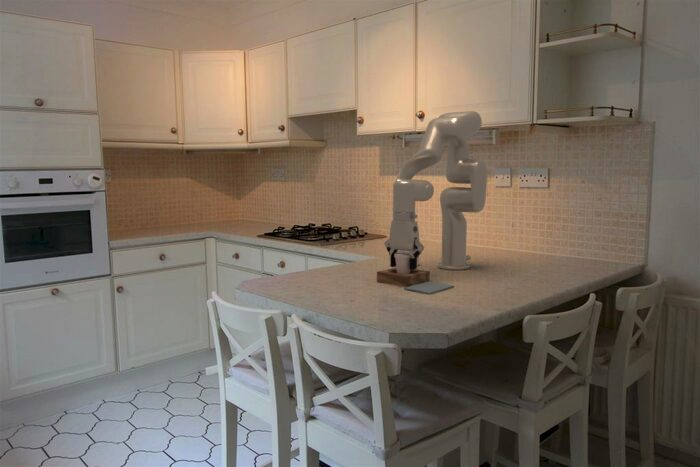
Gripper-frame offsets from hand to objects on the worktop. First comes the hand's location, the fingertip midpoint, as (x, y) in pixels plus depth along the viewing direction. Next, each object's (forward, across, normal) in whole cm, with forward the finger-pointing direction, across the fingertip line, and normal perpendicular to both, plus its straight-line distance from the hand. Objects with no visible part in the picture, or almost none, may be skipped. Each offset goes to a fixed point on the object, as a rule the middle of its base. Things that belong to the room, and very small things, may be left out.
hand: (403, 267), depth 186 cm
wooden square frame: (+5, 0, 0) cm, 5 cm away
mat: (+5, -13, +3) cm, 14 cm away
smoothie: (+5, 0, 0) cm, 5 cm away
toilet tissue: (+5, +19, -26) cm, 33 cm away
